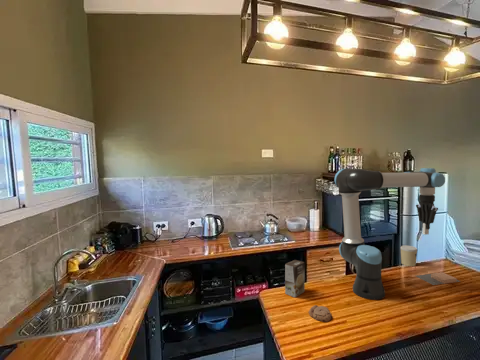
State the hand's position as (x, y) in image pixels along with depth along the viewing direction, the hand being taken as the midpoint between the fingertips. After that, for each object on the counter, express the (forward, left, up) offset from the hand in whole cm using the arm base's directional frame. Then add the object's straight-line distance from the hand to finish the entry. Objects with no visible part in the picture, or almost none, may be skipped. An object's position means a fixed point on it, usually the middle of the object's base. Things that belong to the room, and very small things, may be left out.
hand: (425, 234), depth 158 cm
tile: (+2, -6, -22) cm, 23 cm away
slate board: (0, -8, -25) cm, 26 cm away
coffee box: (-83, -2, -25) cm, 87 cm away
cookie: (-80, -24, -25) cm, 88 cm away
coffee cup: (+2, +14, -25) cm, 28 cm away
